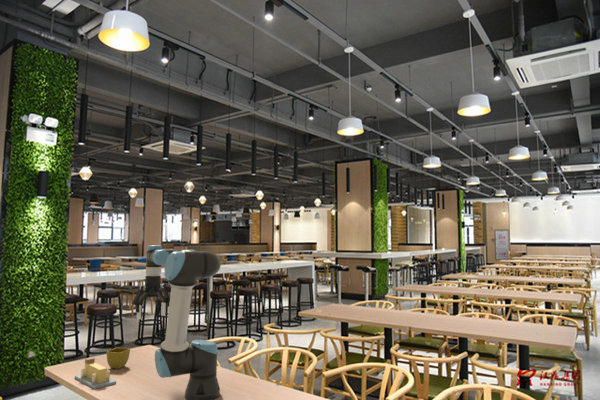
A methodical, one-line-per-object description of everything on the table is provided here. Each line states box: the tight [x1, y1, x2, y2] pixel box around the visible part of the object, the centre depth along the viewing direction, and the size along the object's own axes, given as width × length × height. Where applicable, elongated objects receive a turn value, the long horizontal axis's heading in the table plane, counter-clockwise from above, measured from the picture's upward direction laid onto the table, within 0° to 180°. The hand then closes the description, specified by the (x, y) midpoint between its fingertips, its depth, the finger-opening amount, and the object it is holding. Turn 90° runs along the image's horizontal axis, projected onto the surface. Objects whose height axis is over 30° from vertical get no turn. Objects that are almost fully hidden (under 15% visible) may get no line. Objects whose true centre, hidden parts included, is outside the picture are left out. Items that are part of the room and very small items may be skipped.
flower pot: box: [106, 347, 131, 370], centre depth 221 cm, size 9×9×9 cm
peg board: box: [74, 367, 117, 390], centre depth 199 cm, size 22×10×5 cm, turn 50°
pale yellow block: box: [84, 357, 108, 383], centre depth 199 cm, size 16×4×8 cm, turn 50°
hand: (151, 317), depth 211 cm, fingers open, 13 cm apart
